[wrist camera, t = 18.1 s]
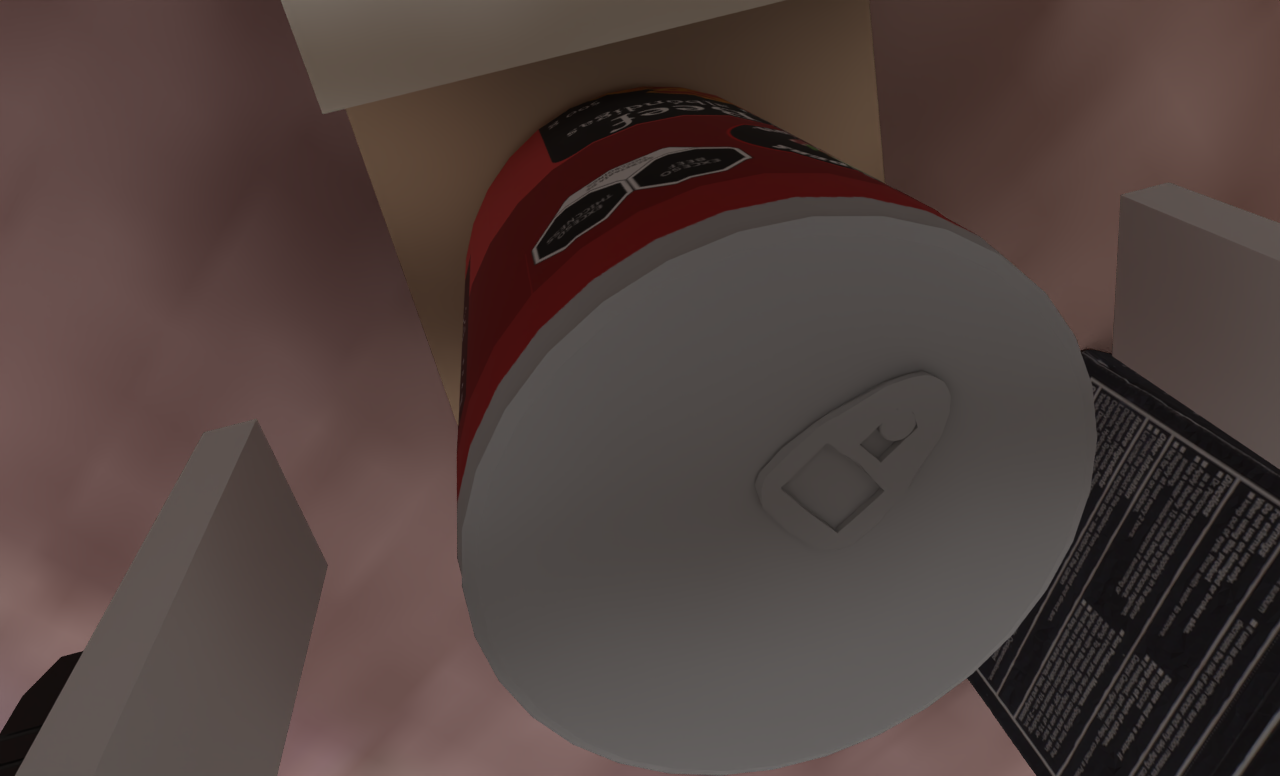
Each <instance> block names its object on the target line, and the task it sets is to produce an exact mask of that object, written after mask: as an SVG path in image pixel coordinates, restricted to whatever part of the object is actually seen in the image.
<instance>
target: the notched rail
mask: <svg viewBox="0 0 1280 776" xmlns="http://www.w3.org/2000/svg"><path fill="white" fill-rule="evenodd" d="M281 2H282V5H283V8H284V10H285V13H286V16H287V19H288V21H289V24H290V27H291V29H292V32H293V35H294V38H295V40H296V43H297V46H298V49H299V51H300V54H301V57H302V59H303V62H304V65H305V68H306V70H307V73H308V76H309V79H310V81H311V84H312V87H313V89H314V92H315V95H316V98H317V100H318V103H319V106H320V108H321V111H322V114H326V113H330V112H334V111H338V110H342V109H346V112H347V115H348V118H349V121H350V123H351V126H352V129H353V132H354V135H355V138H356V140H357V143H358V146H359V149H360V152H361V154H362V157H363V160H364V163H365V166H366V169H367V171H368V174H369V177H370V180H371V183H372V185H373V188H374V191H375V194H376V197H377V200H378V202H379V205H380V208H381V211H382V214H383V217H384V219H385V222H386V225H387V228H388V231H389V233H390V236H391V239H392V242H393V245H394V248H395V250H396V253H397V256H398V259H399V262H400V264H401V267H402V270H403V273H404V276H405V279H406V281H407V284H408V287H409V290H410V293H411V295H412V298H413V301H414V304H415V307H416V310H417V312H418V315H419V318H420V321H421V324H422V326H423V329H424V332H425V335H426V338H427V341H428V343H429V346H430V349H431V352H432V355H433V357H434V360H435V363H436V366H437V369H438V372H439V374H440V377H441V380H442V383H443V386H444V389H445V391H446V394H447V397H448V400H449V403H450V405H451V408H452V411H453V414H454V417H455V420H456V422H457V425H458V420H459V399H460V378H461V356H462V335H463V313H464V292H465V271H466V257H467V252H468V247H469V242H470V238H471V233H472V228H473V223H474V221H475V219H476V216H477V214H478V212H479V209H480V207H481V205H482V202H483V200H484V198H485V195H486V193H487V191H488V189H489V187H490V186H491V184H492V183H493V181H494V180H495V178H496V177H497V175H498V174H499V173H500V171H501V170H502V168H503V167H504V165H505V164H506V162H507V161H508V159H509V158H510V157H511V156H512V155H513V154H514V153H515V152H516V151H517V150H518V149H519V148H520V147H521V146H522V145H523V144H524V143H525V142H526V141H527V140H528V139H529V138H530V137H531V136H532V135H533V134H534V133H535V132H536V131H537V130H539V129H540V128H542V127H543V126H545V125H546V124H548V123H549V122H551V121H552V120H554V119H555V118H557V117H558V116H560V115H561V114H563V113H564V112H566V111H567V110H569V109H570V108H573V107H575V106H578V105H580V104H582V103H585V102H587V101H590V100H592V99H595V98H597V97H599V96H602V95H604V94H607V93H613V92H618V91H623V90H628V89H633V88H639V87H682V88H686V89H691V90H695V91H699V92H703V93H707V94H712V95H716V96H718V97H720V98H722V99H724V100H726V101H728V102H730V103H732V104H734V105H737V106H739V107H741V108H743V109H745V110H747V111H749V112H751V113H752V114H754V115H756V116H758V117H760V118H762V119H764V120H766V121H768V122H770V123H771V124H773V125H775V126H777V127H779V128H781V129H783V130H785V131H787V132H789V133H790V134H792V135H794V136H796V137H798V138H800V139H802V140H804V141H806V142H807V143H809V144H811V145H813V146H815V147H817V148H819V149H821V150H823V151H825V152H826V153H828V154H830V155H832V156H834V157H836V158H838V159H840V160H842V161H844V162H845V163H847V164H849V165H851V166H853V167H855V168H857V169H859V170H861V171H862V172H864V173H866V174H868V175H870V176H872V177H874V178H876V179H878V180H880V181H881V182H883V183H885V179H884V167H883V155H882V144H881V132H880V120H879V109H878V97H877V85H876V74H875V62H874V50H873V39H872V27H871V15H870V4H869V0H281Z"/></svg>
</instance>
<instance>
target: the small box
mask: <svg viewBox="0 0 1280 776" xmlns="http://www.w3.org/2000/svg"><path fill="white" fill-rule="evenodd" d="M1081 354H1082V357H1083V360H1084V363H1085V366H1086V369H1087V372H1088V375H1089V377H1090V380H1091V383H1092V386H1093V397H1094V408H1095V419H1096V431H1097V443H1096V451H1095V458H1094V466H1093V473H1092V481H1091V488H1090V493H1089V496H1088V499H1087V502H1086V505H1085V507H1084V510H1083V513H1082V516H1081V519H1080V522H1079V525H1078V528H1077V531H1076V534H1075V537H1074V540H1073V542H1072V544H1071V546H1070V548H1069V550H1068V552H1067V553H1066V555H1065V557H1064V559H1063V561H1062V563H1061V564H1060V566H1059V568H1058V570H1057V572H1056V574H1055V575H1054V577H1053V579H1052V581H1051V583H1050V585H1049V586H1048V588H1047V590H1046V591H1045V593H1044V594H1043V595H1042V597H1041V598H1040V599H1039V601H1038V602H1037V603H1036V605H1035V606H1034V607H1033V608H1032V610H1031V611H1030V612H1029V614H1028V615H1027V616H1026V618H1025V619H1024V620H1023V622H1022V623H1021V624H1020V625H1019V627H1018V628H1017V629H1016V631H1015V632H1014V633H1013V635H1012V636H1011V637H1009V638H1008V639H1007V640H1006V641H1005V642H1004V643H1003V644H1002V645H1001V646H1000V647H999V648H998V649H997V650H996V651H995V652H994V653H993V654H992V655H991V656H990V657H989V658H988V659H987V660H986V661H985V662H984V663H983V664H982V665H981V666H980V667H979V668H978V669H977V670H976V671H975V672H974V673H973V674H972V675H970V676H969V677H968V678H967V679H968V680H969V681H970V683H971V684H972V685H973V687H974V688H975V689H976V691H977V692H978V694H979V695H980V696H981V698H982V699H983V700H984V702H985V703H986V705H987V706H988V707H989V709H990V710H991V712H992V713H993V715H994V716H995V718H996V719H997V721H998V722H999V724H1000V725H1001V726H1002V728H1003V729H1004V731H1005V732H1006V733H1007V735H1008V736H1009V738H1010V739H1011V740H1012V742H1013V744H1014V745H1015V746H1016V748H1017V749H1018V750H1019V752H1020V753H1021V755H1022V756H1023V758H1024V759H1025V760H1026V762H1027V763H1028V765H1029V766H1030V767H1031V769H1032V770H1033V771H1034V773H1035V774H1036V776H1280V469H1278V468H1277V467H1275V466H1274V465H1273V464H1271V463H1270V462H1268V461H1267V460H1265V459H1264V458H1262V457H1261V456H1259V455H1258V454H1256V453H1255V452H1253V451H1252V450H1250V449H1249V448H1247V447H1246V446H1244V445H1243V444H1241V443H1240V442H1239V441H1237V440H1236V439H1234V438H1233V437H1231V436H1230V435H1228V434H1227V433H1225V432H1224V431H1222V430H1221V429H1219V428H1218V427H1216V426H1215V425H1213V424H1212V423H1210V422H1209V421H1207V420H1206V419H1205V418H1203V417H1202V416H1200V415H1199V414H1197V413H1196V412H1194V411H1193V410H1191V409H1190V408H1188V407H1187V406H1185V405H1184V404H1182V403H1181V402H1179V401H1178V400H1176V399H1175V398H1173V397H1172V396H1171V395H1169V394H1168V393H1166V392H1165V391H1163V390H1162V389H1160V388H1159V387H1157V386H1156V385H1154V384H1153V383H1151V382H1150V381H1148V380H1147V379H1145V378H1144V377H1142V376H1141V375H1139V374H1138V373H1136V372H1135V371H1134V370H1132V369H1131V368H1129V367H1128V366H1126V365H1125V364H1123V363H1122V362H1120V361H1119V360H1117V359H1116V358H1114V357H1113V356H1112V354H1109V353H1104V352H1100V351H1096V350H1085V351H1083V352H1081Z"/></svg>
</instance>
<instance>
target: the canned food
mask: <svg viewBox="0 0 1280 776" xmlns="http://www.w3.org/2000/svg"><path fill="white" fill-rule="evenodd" d="M1096 443H1097V431H1096V419H1095V408H1094V397H1093V386H1092V383H1091V380H1090V377H1089V375H1088V372H1087V369H1086V366H1085V363H1084V360H1083V357H1082V354H1081V351H1080V349H1079V346H1078V343H1077V340H1076V337H1075V335H1074V334H1073V333H1072V331H1071V330H1070V328H1069V327H1068V325H1067V324H1066V322H1065V321H1064V319H1063V318H1062V316H1061V315H1060V313H1059V312H1058V310H1057V309H1056V308H1055V306H1054V305H1053V303H1052V302H1051V300H1050V299H1049V297H1048V296H1047V294H1046V293H1045V292H1044V291H1043V290H1042V289H1041V288H1039V287H1038V286H1037V285H1036V284H1035V283H1033V282H1032V281H1031V280H1030V279H1029V278H1028V277H1026V276H1025V275H1024V274H1023V273H1022V272H1021V271H1020V270H1019V269H1018V268H1016V267H1015V266H1014V265H1013V264H1012V263H1010V262H1009V261H1008V260H1007V259H1006V258H1005V257H1003V256H1002V255H1001V254H1000V253H999V252H998V251H996V250H995V249H994V248H993V247H992V246H991V245H989V244H988V243H987V242H986V241H985V240H983V239H982V238H981V237H980V236H978V235H976V234H975V233H973V232H971V231H969V230H967V229H965V228H963V227H962V226H960V225H958V224H956V223H954V222H952V221H951V220H949V219H947V218H945V217H944V216H943V215H942V214H940V213H939V212H938V211H936V210H935V209H933V208H931V207H929V206H927V205H925V204H923V203H921V202H919V201H917V200H916V199H914V198H912V197H910V196H908V195H906V194H904V193H902V192H900V191H898V190H897V189H895V188H893V187H891V186H889V185H887V184H885V183H883V182H881V181H880V180H878V179H876V178H874V177H872V176H870V175H868V174H866V173H864V172H862V171H861V170H859V169H857V168H855V167H853V166H851V165H849V164H847V163H845V162H844V161H842V160H840V159H838V158H836V157H834V156H832V155H830V154H828V153H826V152H825V151H823V150H821V149H819V148H817V147H815V146H813V145H811V144H809V143H807V142H806V141H804V140H802V139H800V138H798V137H796V136H794V135H792V134H790V133H789V132H787V131H785V130H783V129H781V128H779V127H777V126H775V125H773V124H771V123H770V122H768V121H766V120H764V119H762V118H760V117H758V116H756V115H754V114H752V113H751V112H749V111H747V110H745V109H743V108H741V107H739V106H737V105H734V104H732V103H730V102H728V101H726V100H724V99H722V98H720V97H718V96H716V95H712V94H707V93H703V92H699V91H695V90H691V89H686V88H682V87H639V88H633V89H628V90H623V91H618V92H613V93H607V94H604V95H602V96H599V97H597V98H595V99H592V100H590V101H587V102H585V103H582V104H580V105H578V106H575V107H573V108H570V109H569V110H567V111H566V112H564V113H563V114H561V115H560V116H558V117H557V118H555V119H554V120H552V121H551V122H549V123H548V124H546V125H545V126H543V127H542V128H540V129H539V130H537V131H536V132H535V133H534V134H533V135H532V136H531V137H530V138H529V139H528V140H527V141H526V142H525V143H524V144H523V145H522V146H521V147H520V148H519V149H518V150H517V151H516V152H515V153H514V154H513V155H512V156H511V157H510V158H509V159H508V161H507V162H506V164H505V165H504V167H503V168H502V170H501V171H500V173H499V174H498V175H497V177H496V178H495V180H494V181H493V183H492V184H491V186H490V187H489V189H488V191H487V193H486V195H485V198H484V200H483V202H482V205H481V207H480V209H479V212H478V214H477V216H476V219H475V221H474V223H473V228H472V233H471V238H470V242H469V247H468V252H467V257H466V271H465V292H464V313H463V335H462V356H461V378H460V399H459V420H458V442H457V559H458V563H459V567H460V571H461V575H462V588H463V592H464V596H465V600H466V604H467V607H468V611H469V615H470V619H471V623H472V627H473V631H474V635H475V638H476V640H477V642H478V643H479V645H480V647H481V649H482V651H483V653H484V654H485V656H486V658H487V660H488V662H489V664H490V665H491V667H492V669H493V671H494V673H495V675H496V676H497V678H498V680H499V681H500V683H501V684H502V685H503V686H504V687H505V688H506V689H507V690H508V691H509V692H510V693H511V694H512V696H513V697H514V698H515V699H516V700H517V701H518V702H519V703H520V704H521V705H522V706H523V707H524V709H525V710H526V711H527V712H528V713H529V714H530V715H531V716H532V717H533V718H535V719H536V720H538V721H539V722H541V723H542V724H544V725H545V726H547V727H548V728H549V729H551V730H552V731H554V732H555V733H557V734H558V735H560V736H561V737H563V738H564V739H566V740H567V741H569V742H570V743H572V744H573V745H576V746H578V747H581V748H583V749H586V750H588V751H590V752H593V753H595V754H598V755H600V756H603V757H605V758H607V759H610V760H612V761H615V762H617V763H621V764H626V765H630V766H635V767H640V768H645V769H650V770H655V771H659V772H664V773H672V774H697V775H729V774H738V773H747V772H755V771H764V770H773V769H777V768H781V767H785V766H789V765H793V764H797V763H801V762H805V761H809V760H813V759H817V758H820V757H824V756H828V755H830V754H833V753H835V752H838V751H840V750H843V749H845V748H848V747H850V746H853V745H855V744H858V743H860V742H862V741H865V740H867V739H870V738H872V737H875V736H877V735H879V734H881V733H883V732H885V731H887V730H888V729H890V728H892V727H894V726H895V725H897V724H899V723H901V722H903V721H904V720H906V719H908V718H910V717H911V716H913V715H915V714H917V713H919V712H920V711H922V710H924V709H926V708H927V707H929V706H930V705H931V704H933V703H934V702H935V701H937V700H938V699H939V698H941V697H942V696H943V695H945V694H946V693H947V692H949V691H950V690H951V689H953V688H954V687H955V686H957V685H958V684H959V683H961V682H962V681H964V680H965V679H966V678H968V677H969V676H970V675H972V674H973V673H974V672H975V671H976V670H977V669H978V668H979V667H980V666H981V665H982V664H983V663H984V662H985V661H986V660H987V659H988V658H989V657H990V656H991V655H992V654H993V653H994V652H995V651H996V650H997V649H998V648H999V647H1000V646H1001V645H1002V644H1003V643H1004V642H1005V641H1006V640H1007V639H1008V638H1009V637H1011V636H1012V635H1013V633H1014V632H1015V631H1016V629H1017V628H1018V627H1019V625H1020V624H1021V623H1022V622H1023V620H1024V619H1025V618H1026V616H1027V615H1028V614H1029V612H1030V611H1031V610H1032V608H1033V607H1034V606H1035V605H1036V603H1037V602H1038V601H1039V599H1040V598H1041V597H1042V595H1043V594H1044V593H1045V591H1046V590H1047V588H1048V586H1049V585H1050V583H1051V581H1052V579H1053V577H1054V575H1055V574H1056V572H1057V570H1058V568H1059V566H1060V564H1061V563H1062V561H1063V559H1064V557H1065V555H1066V553H1067V552H1068V550H1069V548H1070V546H1071V544H1072V542H1073V540H1074V537H1075V534H1076V531H1077V528H1078V525H1079V522H1080V519H1081V516H1082V513H1083V510H1084V507H1085V505H1086V502H1087V499H1088V496H1089V493H1090V488H1091V481H1092V473H1093V466H1094V458H1095V451H1096Z"/></svg>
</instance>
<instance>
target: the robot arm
mask: <svg viewBox="0 0 1280 776" xmlns="http://www.w3.org/2000/svg"><path fill="white" fill-rule="evenodd" d="M1112 356H1113V357H1114V358H1116V359H1117V360H1119V361H1120V362H1122V363H1123V364H1125V365H1126V366H1128V367H1129V368H1131V369H1132V370H1134V371H1135V372H1136V373H1138V374H1139V375H1141V376H1142V377H1144V378H1145V379H1147V380H1148V381H1150V382H1151V383H1153V384H1154V385H1156V386H1157V387H1159V388H1160V389H1162V390H1163V391H1165V392H1166V393H1168V394H1169V395H1171V396H1172V397H1173V398H1175V399H1176V400H1178V401H1179V402H1181V403H1182V404H1184V405H1185V406H1187V407H1188V408H1190V409H1191V410H1193V411H1194V412H1196V413H1197V414H1199V415H1200V416H1202V417H1203V418H1205V419H1206V420H1207V421H1209V422H1210V423H1212V424H1213V425H1215V426H1216V427H1218V428H1219V429H1221V430H1222V431H1224V432H1225V433H1227V434H1228V435H1230V436H1231V437H1233V438H1234V439H1236V440H1237V441H1239V442H1240V443H1241V444H1243V445H1244V446H1246V447H1247V448H1249V449H1250V450H1252V451H1253V452H1255V453H1256V454H1258V455H1259V456H1261V457H1262V458H1264V459H1265V460H1267V461H1268V462H1270V463H1271V464H1273V465H1274V466H1275V467H1277V468H1278V469H1280V223H1278V222H1275V221H1272V220H1269V219H1267V218H1264V217H1261V216H1259V215H1256V214H1253V213H1250V212H1248V211H1245V210H1242V209H1240V208H1237V207H1234V206H1231V205H1229V204H1226V203H1223V202H1221V201H1218V200H1215V199H1212V198H1210V197H1207V196H1204V195H1202V194H1199V193H1196V192H1193V191H1191V190H1188V189H1185V188H1183V187H1180V186H1177V185H1174V184H1172V183H1165V184H1161V185H1157V186H1153V187H1150V188H1146V189H1142V190H1138V191H1134V192H1130V193H1126V194H1123V195H1121V199H1120V217H1119V236H1118V254H1117V273H1116V291H1115V310H1114V328H1113V347H1112ZM327 566H328V565H327V563H326V561H325V558H324V556H323V554H322V552H321V550H320V548H319V546H318V544H317V542H316V540H315V538H314V536H313V534H312V532H311V530H310V528H309V526H308V523H307V521H306V519H305V517H304V515H303V513H302V511H301V509H300V507H299V505H298V503H297V501H296V499H295V497H294V495H293V493H292V491H291V488H290V486H289V484H288V482H287V480H286V478H285V476H284V474H283V472H282V470H281V468H280V466H279V464H278V462H277V460H276V458H275V456H274V453H273V451H272V449H271V447H270V445H269V443H268V441H267V439H266V437H265V435H264V433H263V431H262V429H261V427H260V425H259V423H258V421H257V419H254V420H250V421H246V422H242V423H238V424H234V425H231V426H227V427H223V428H219V429H215V430H211V431H207V432H204V433H203V435H202V437H201V439H200V440H199V442H198V444H197V446H196V448H195V449H194V451H193V453H192V455H191V457H190V459H189V460H188V462H187V464H186V466H185V468H184V469H183V471H182V473H181V475H180V477H179V479H178V480H177V482H176V484H175V486H174V488H173V489H172V491H171V493H170V495H169V497H168V499H167V500H166V502H165V504H164V506H163V508H162V509H161V511H160V513H159V515H158V517H157V519H156V520H155V522H154V524H153V526H152V528H151V529H150V531H149V533H148V535H147V537H146V538H145V540H144V542H143V544H142V546H141V548H140V549H139V551H138V553H137V555H136V557H135V558H134V560H133V562H132V564H131V566H130V568H129V569H128V571H127V573H126V575H125V577H124V578H123V580H122V582H121V584H120V586H119V588H118V589H117V591H116V593H115V595H114V597H113V598H112V600H111V602H110V604H109V606H108V608H107V609H106V611H105V613H104V615H103V617H102V618H101V620H100V622H99V624H98V626H97V628H96V629H95V631H94V633H93V635H92V637H91V638H90V640H89V642H88V644H87V646H86V647H85V649H84V651H82V652H78V653H74V654H70V655H67V656H63V657H61V658H60V659H59V660H58V661H57V662H56V663H55V664H54V665H53V666H52V667H51V668H50V669H49V670H48V671H47V672H46V673H45V674H44V675H43V676H42V677H41V678H40V679H39V680H38V681H37V682H36V683H35V684H34V685H33V686H32V687H31V688H30V689H29V690H28V691H27V692H26V693H25V694H24V695H23V696H22V698H21V700H20V701H19V703H18V705H17V706H16V708H15V710H14V711H13V713H12V715H11V716H10V718H9V720H8V721H7V723H6V725H5V726H4V728H3V730H2V731H1V733H0V776H277V774H278V770H279V766H280V762H281V757H282V753H283V749H284V745H285V741H286V737H287V732H288V728H289V724H290V720H291V716H292V712H293V708H294V703H295V699H296V695H297V691H298V687H299V683H300V678H301V674H302V670H303V666H304V662H305V658H306V654H307V649H308V645H309V641H310V637H311V633H312V629H313V624H314V620H315V616H316V612H317V608H318V604H319V600H320V595H321V591H322V587H323V583H324V579H325V575H326V570H327Z"/></svg>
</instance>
